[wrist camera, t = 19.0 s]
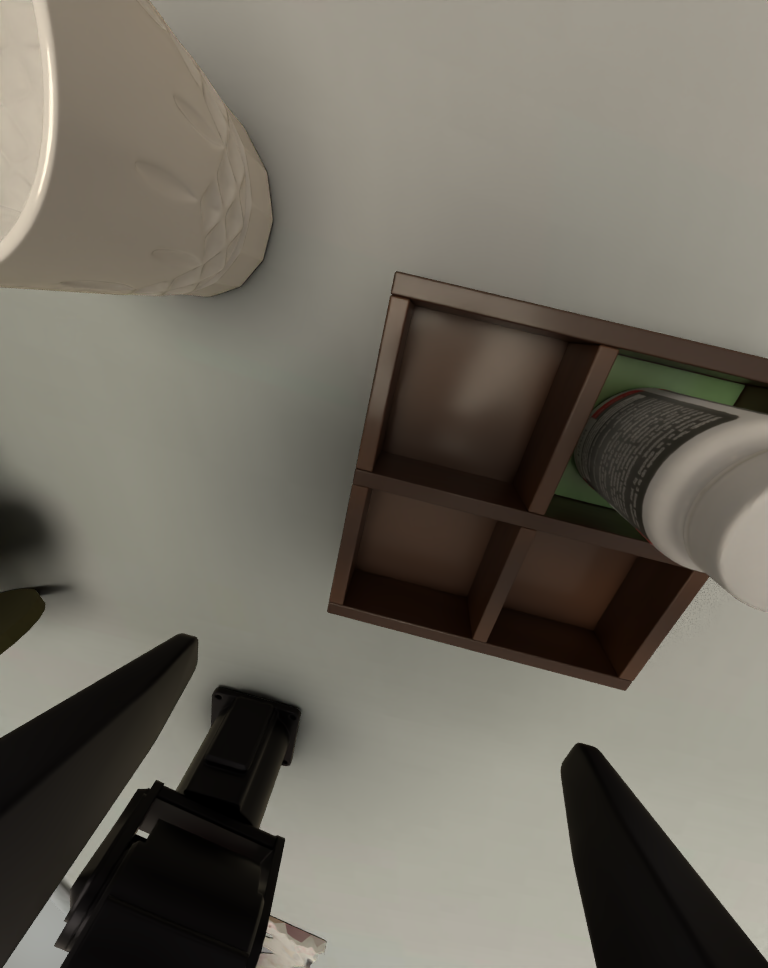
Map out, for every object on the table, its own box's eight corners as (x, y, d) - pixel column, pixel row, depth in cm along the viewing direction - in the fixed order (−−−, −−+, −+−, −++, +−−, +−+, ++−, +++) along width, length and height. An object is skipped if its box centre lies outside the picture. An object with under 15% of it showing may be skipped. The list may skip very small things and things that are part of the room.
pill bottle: (566, 494, 17) (679, 630, 9) (576, 391, 15) (726, 452, 7) (679, 490, 16) (904, 633, 8) (704, 381, 14) (1017, 436, 7)
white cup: (297, 96, 13) (-13, -452, 4) (280, 327, 16) (85, 320, 7) (92, 56, 13) (-640, -541, 4) (115, 291, 17) (-279, 240, 7)
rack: (595, 634, 21) (626, 691, 17) (342, 569, 21) (326, 612, 18) (760, 368, 15) (855, 379, 11) (403, 284, 15) (395, 270, 12)
